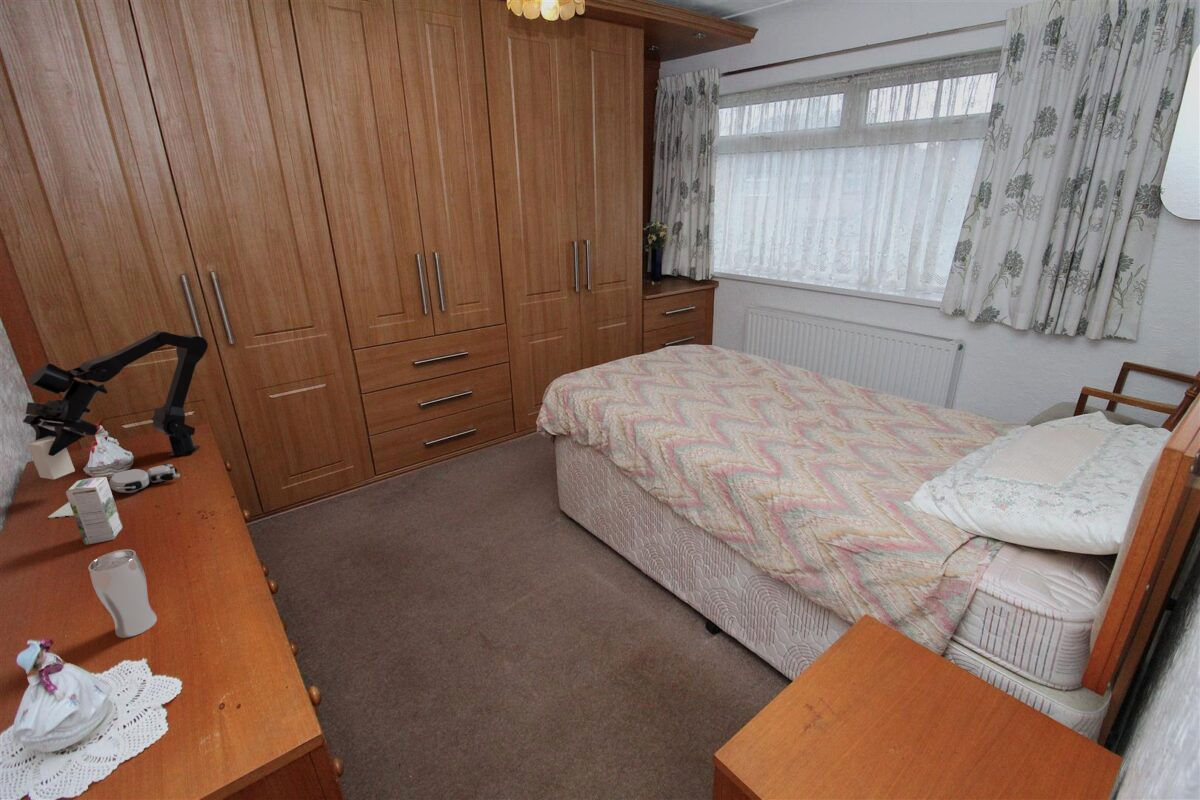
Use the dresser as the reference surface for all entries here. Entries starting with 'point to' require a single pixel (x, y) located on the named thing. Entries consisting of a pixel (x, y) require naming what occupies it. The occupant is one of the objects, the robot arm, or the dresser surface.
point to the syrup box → (94, 510)
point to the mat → (63, 511)
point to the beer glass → (123, 591)
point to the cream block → (50, 459)
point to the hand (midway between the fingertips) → (43, 454)
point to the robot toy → (141, 478)
